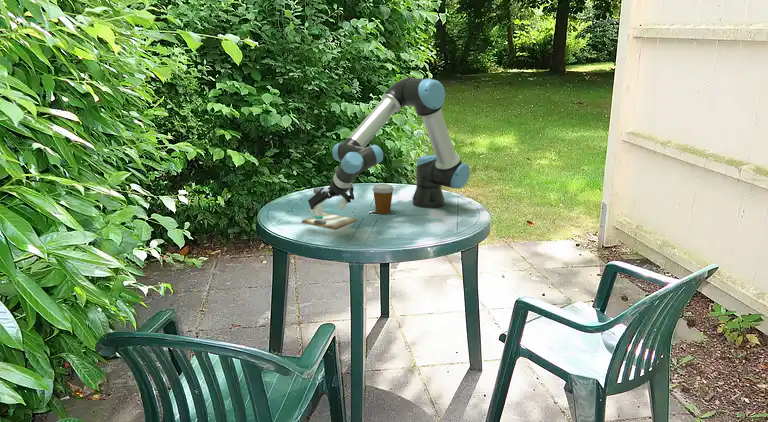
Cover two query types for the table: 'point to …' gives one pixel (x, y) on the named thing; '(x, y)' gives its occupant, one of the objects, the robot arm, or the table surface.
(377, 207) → the disposable coffee cup
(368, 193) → the table surface
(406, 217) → the table surface
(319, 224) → the clipboard
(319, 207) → the ball
